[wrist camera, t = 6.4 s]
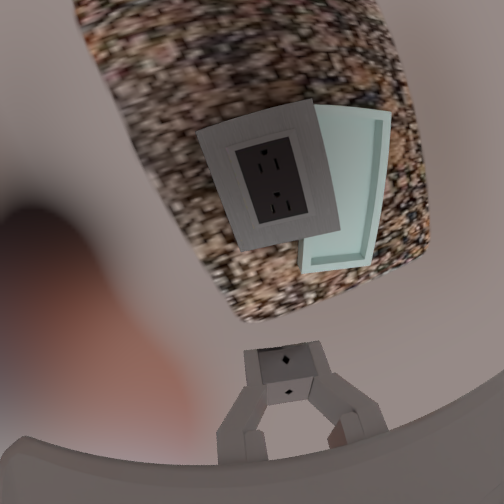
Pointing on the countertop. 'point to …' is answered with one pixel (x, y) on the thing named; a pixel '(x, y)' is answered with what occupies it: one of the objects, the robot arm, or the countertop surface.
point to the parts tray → (350, 186)
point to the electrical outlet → (272, 175)
